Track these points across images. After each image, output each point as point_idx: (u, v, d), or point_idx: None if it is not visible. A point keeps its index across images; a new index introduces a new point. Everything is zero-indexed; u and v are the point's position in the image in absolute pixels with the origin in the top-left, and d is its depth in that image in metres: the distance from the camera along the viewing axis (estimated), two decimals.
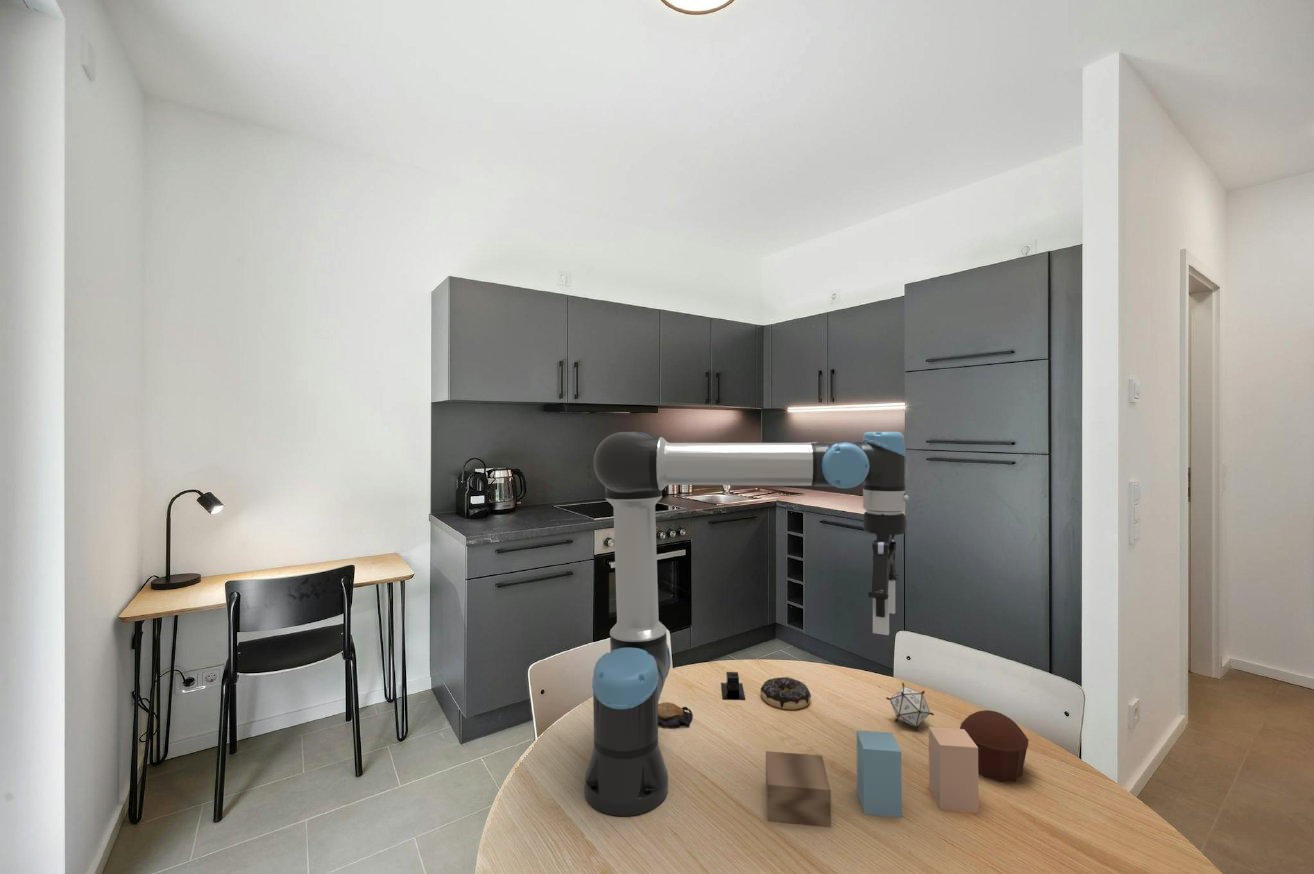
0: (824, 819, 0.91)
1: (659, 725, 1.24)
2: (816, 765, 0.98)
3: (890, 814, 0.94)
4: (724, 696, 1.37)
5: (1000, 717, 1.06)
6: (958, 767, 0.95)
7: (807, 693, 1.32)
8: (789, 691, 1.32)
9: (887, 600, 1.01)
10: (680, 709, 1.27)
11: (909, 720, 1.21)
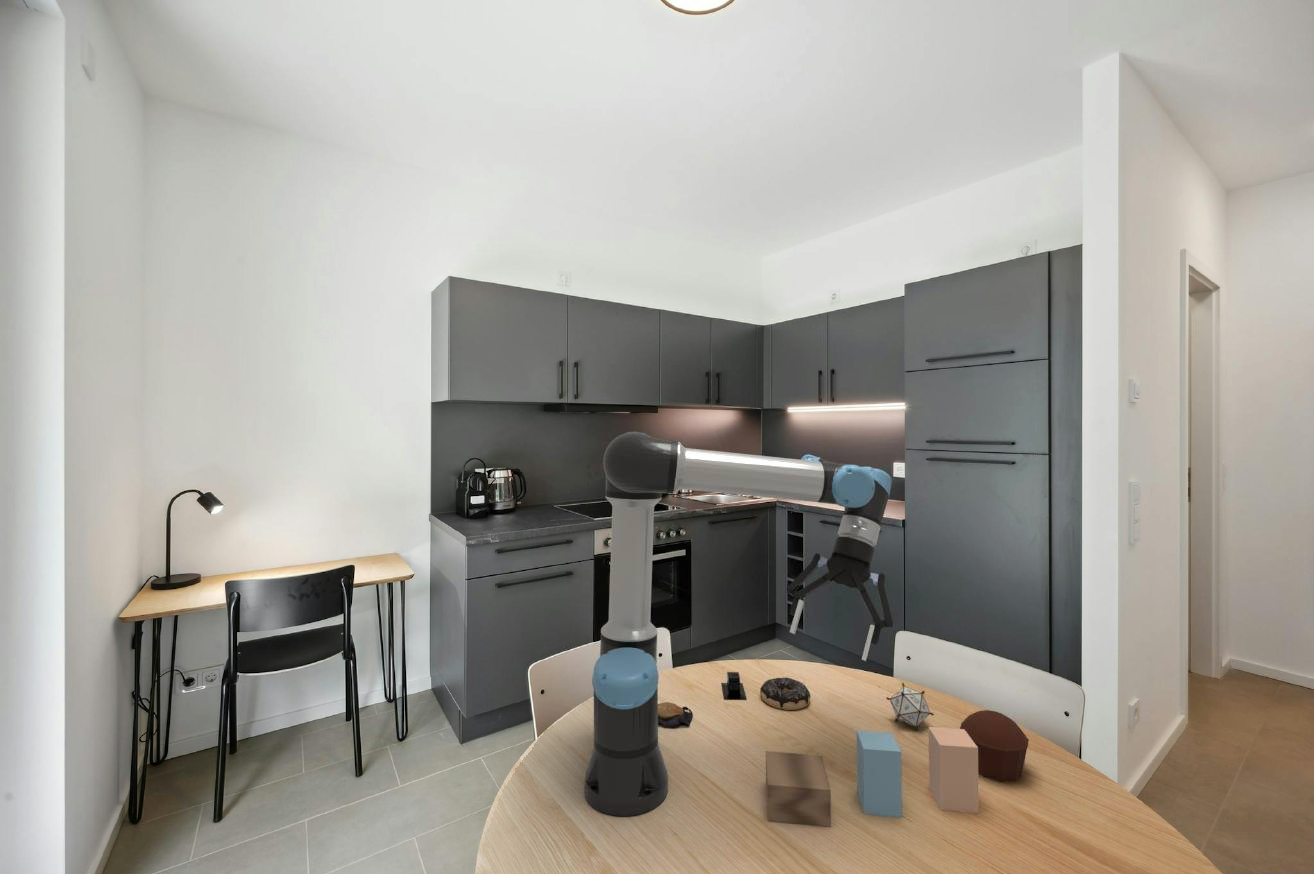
0: (824, 819, 0.91)
1: (659, 725, 1.24)
2: (816, 765, 0.98)
3: (890, 814, 0.94)
4: (725, 696, 1.37)
5: (1000, 717, 1.06)
6: (958, 767, 0.95)
7: (807, 693, 1.32)
8: (789, 691, 1.32)
9: (799, 600, 1.11)
10: (680, 709, 1.27)
11: (909, 720, 1.21)
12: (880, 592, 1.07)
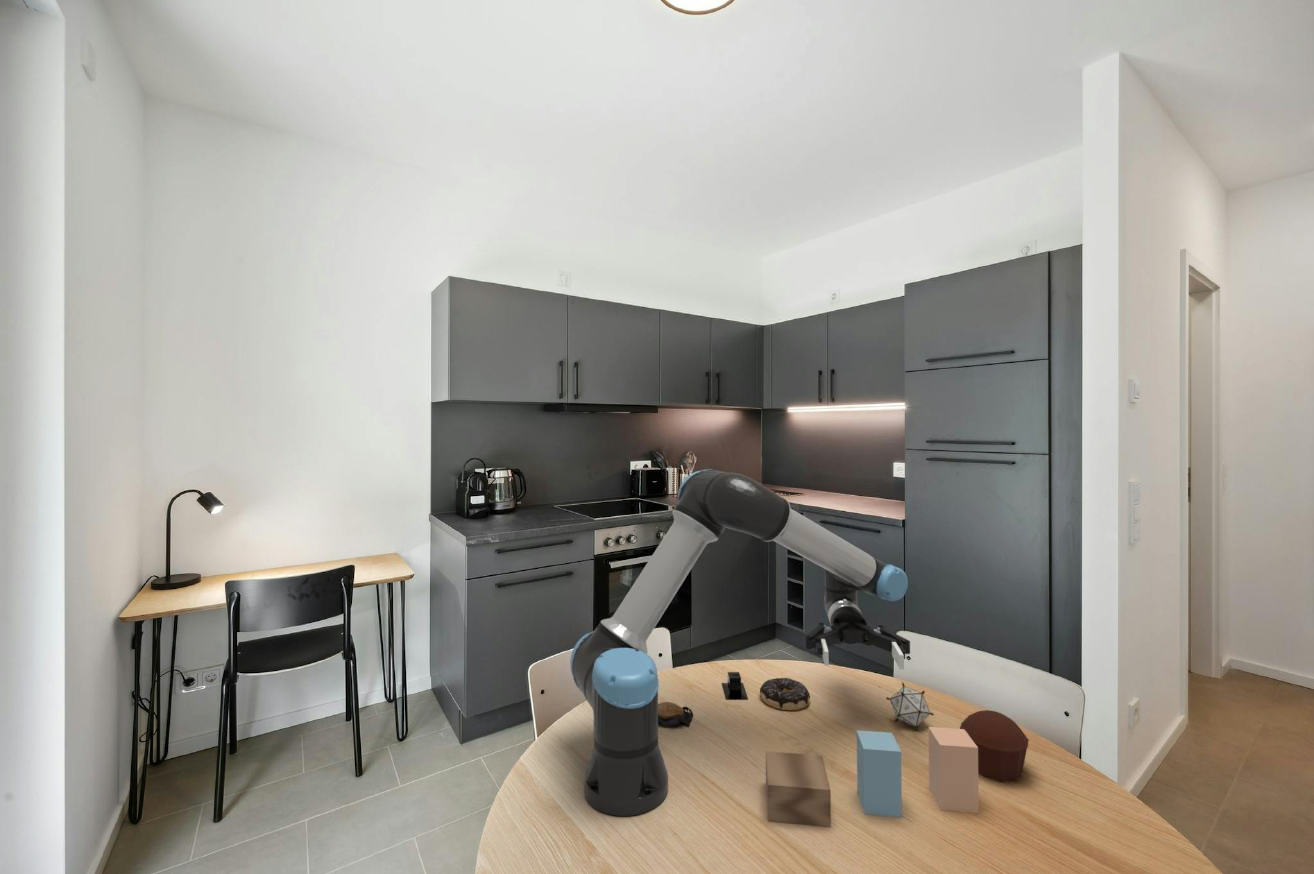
0: (824, 819, 0.91)
1: (659, 725, 1.24)
2: (816, 765, 0.98)
3: (890, 814, 0.94)
4: (727, 696, 1.37)
5: (1000, 717, 1.06)
6: (958, 767, 0.95)
7: (806, 694, 1.32)
8: (788, 692, 1.32)
9: (821, 640, 1.14)
10: (680, 709, 1.27)
11: (909, 720, 1.21)
12: (886, 631, 1.18)
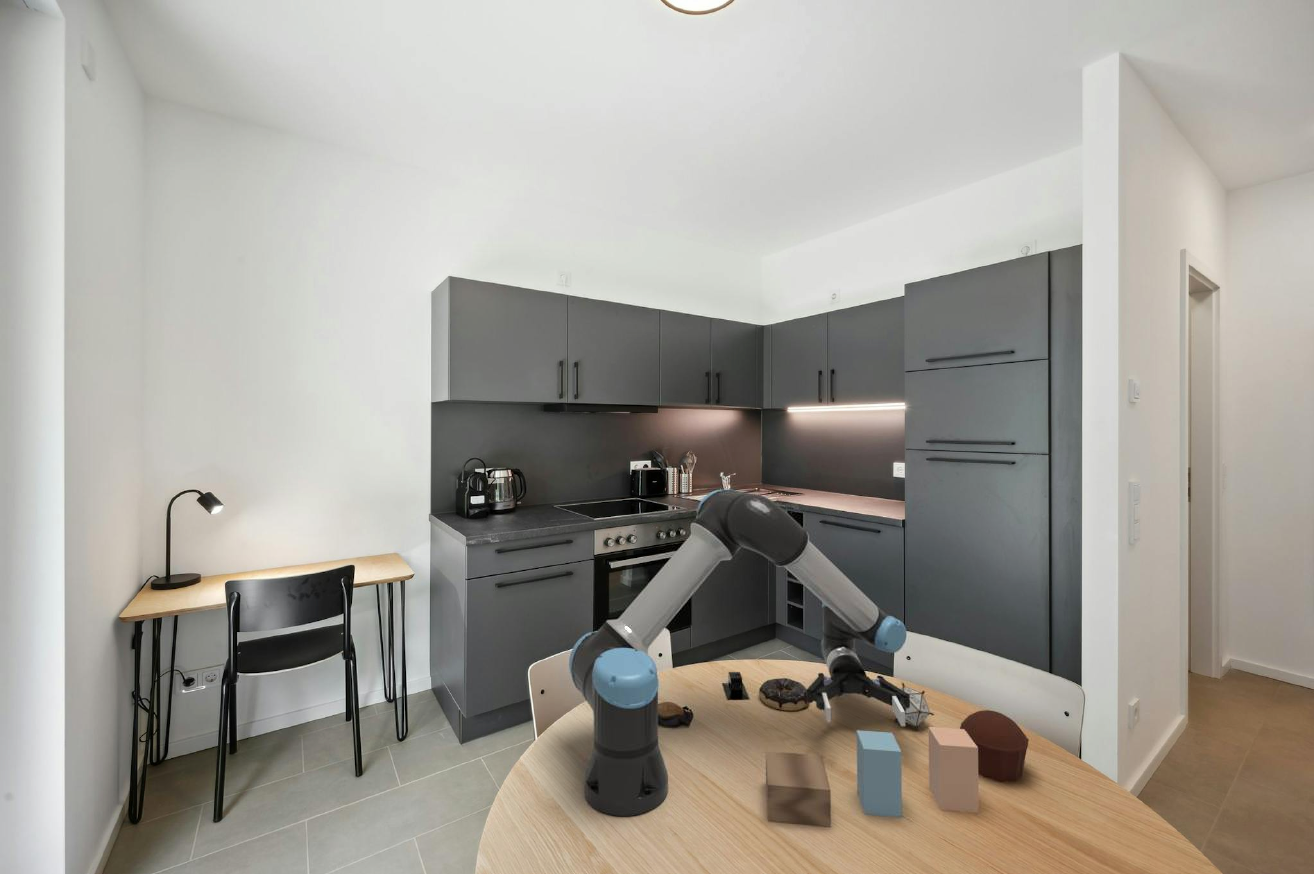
0: (824, 819, 0.91)
1: (659, 724, 1.24)
2: (816, 765, 0.98)
3: (890, 814, 0.94)
4: (728, 696, 1.37)
5: (1000, 717, 1.06)
6: (958, 767, 0.95)
7: (806, 694, 1.32)
8: (788, 692, 1.32)
9: (822, 694, 1.15)
10: (680, 709, 1.27)
11: (909, 720, 1.21)
12: (885, 683, 1.19)
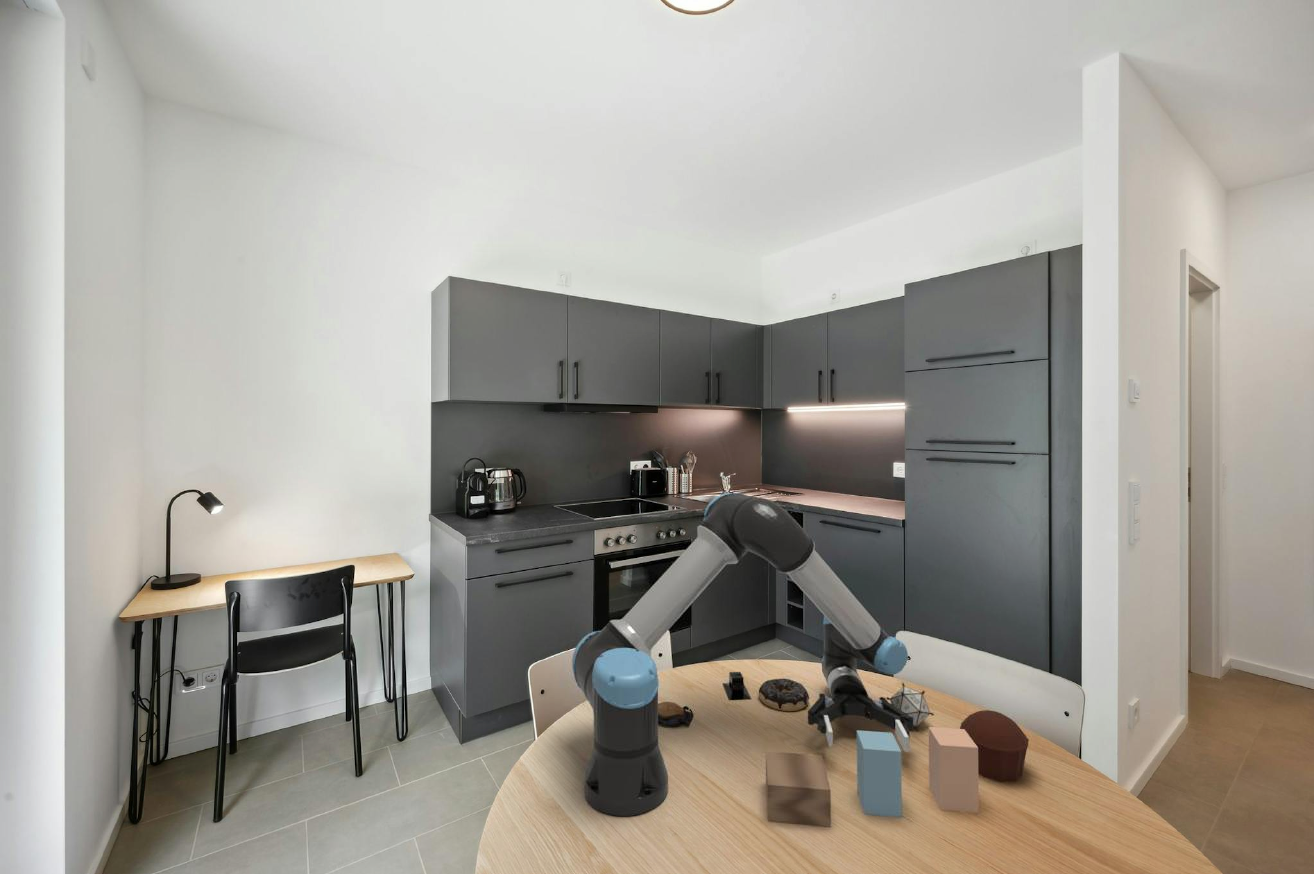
0: (824, 819, 0.91)
1: (659, 724, 1.24)
2: (816, 765, 0.98)
3: (890, 814, 0.94)
4: (730, 696, 1.37)
5: (1000, 717, 1.06)
6: (958, 767, 0.95)
7: (805, 694, 1.32)
8: (787, 692, 1.32)
9: (824, 716, 1.12)
10: (681, 708, 1.28)
11: None
12: (888, 705, 1.17)
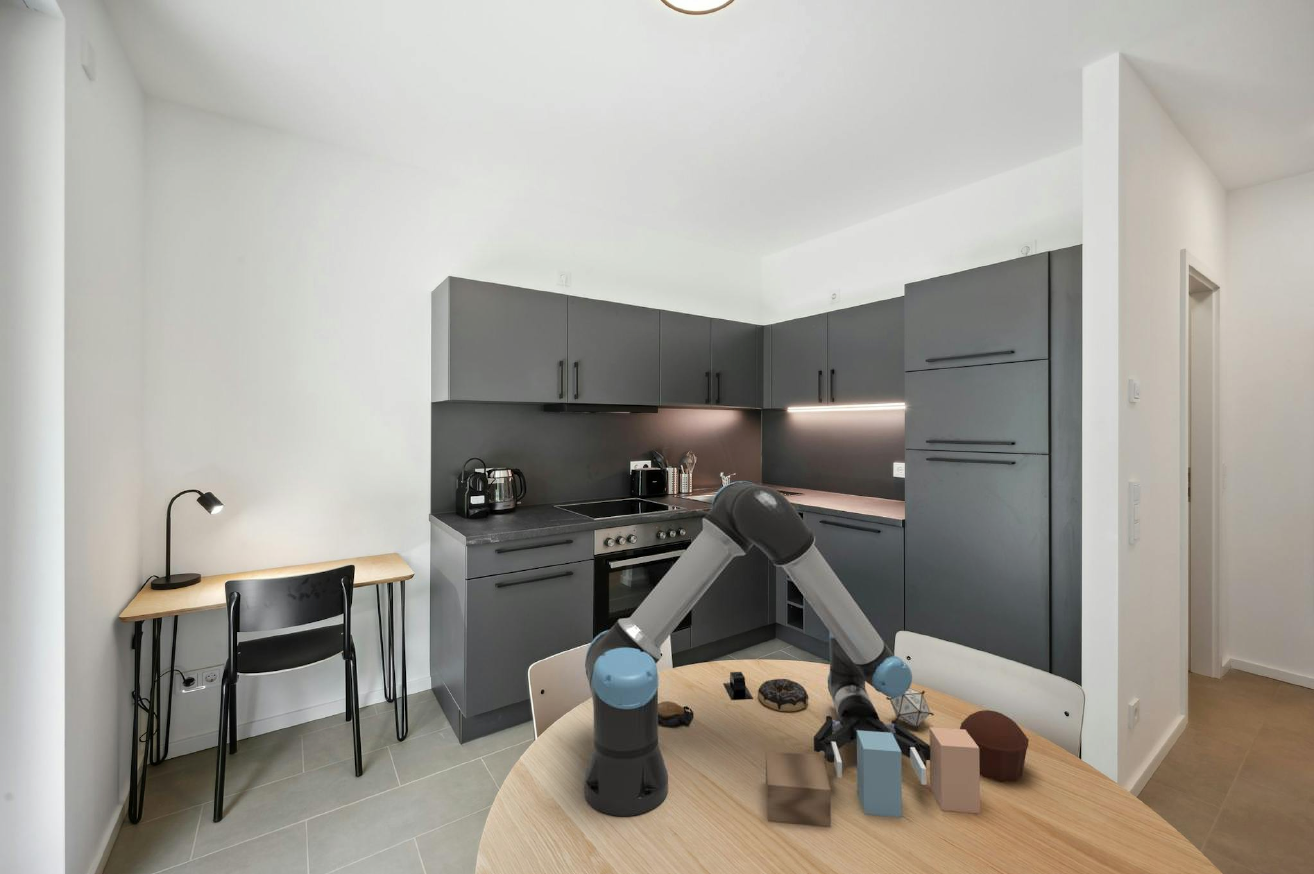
0: (824, 819, 0.91)
1: (659, 724, 1.24)
2: (816, 765, 0.98)
3: (890, 814, 0.94)
4: (732, 697, 1.37)
5: (1000, 717, 1.06)
6: (959, 768, 0.95)
7: (805, 695, 1.31)
8: (786, 693, 1.31)
9: (831, 743, 1.02)
10: (681, 708, 1.28)
11: (909, 720, 1.21)
12: (901, 729, 1.07)
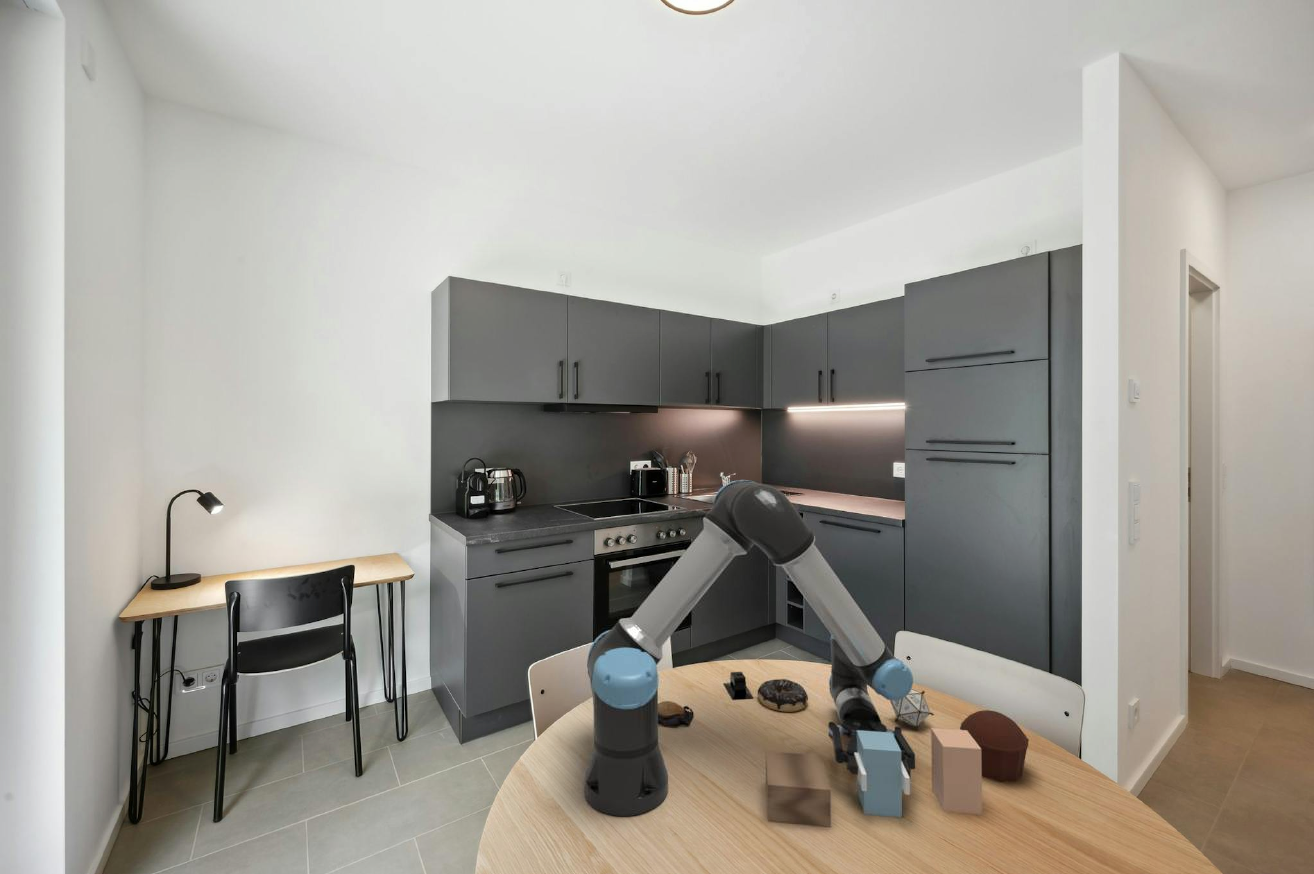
0: (824, 819, 0.91)
1: (659, 723, 1.24)
2: (816, 765, 0.98)
3: (890, 814, 0.94)
4: (733, 697, 1.37)
5: (1000, 717, 1.06)
6: (961, 769, 0.94)
7: (804, 695, 1.31)
8: (786, 693, 1.31)
9: (854, 754, 0.98)
10: (681, 708, 1.28)
11: (909, 720, 1.21)
12: (898, 736, 1.04)
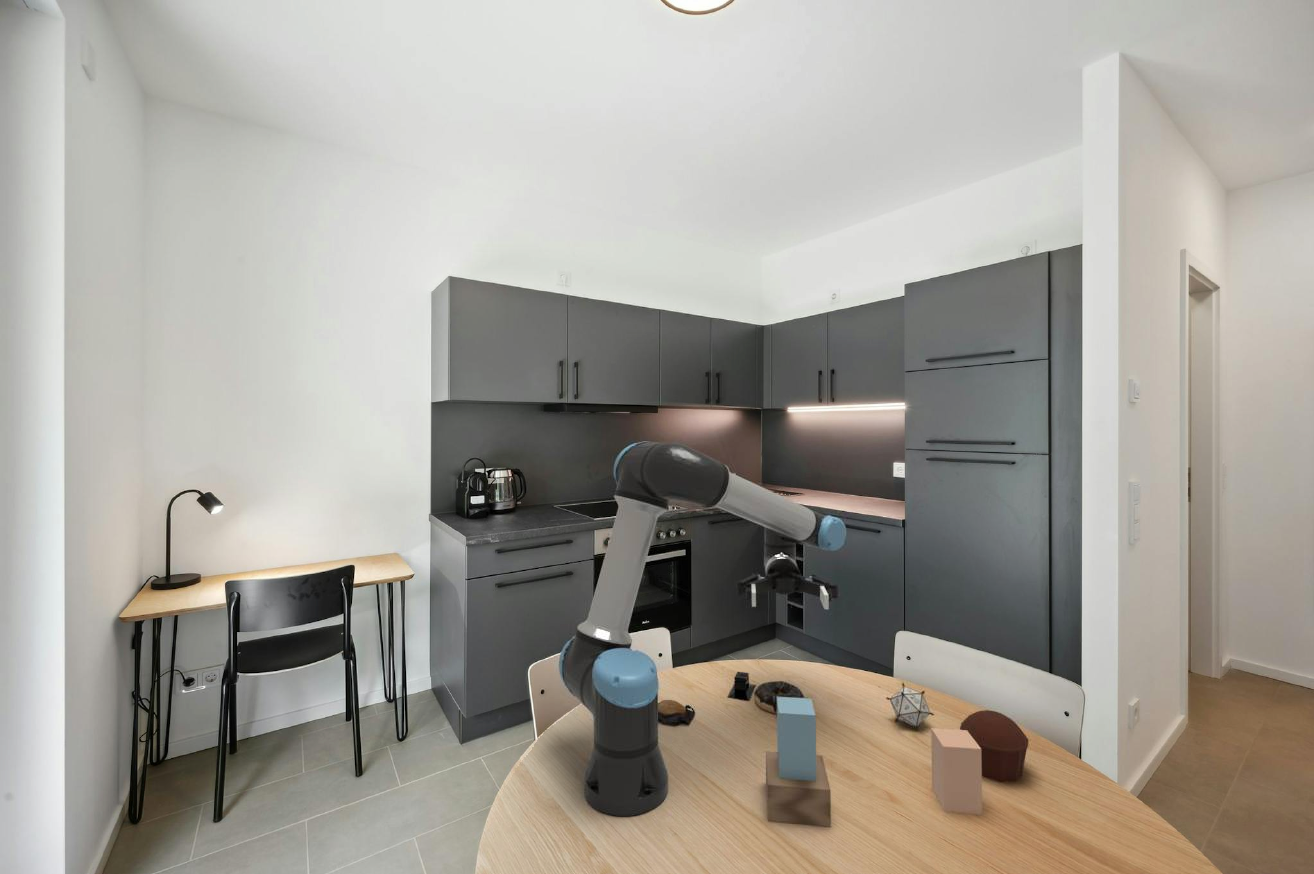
0: (824, 819, 0.91)
1: (660, 722, 1.25)
2: (816, 765, 0.98)
3: (805, 778, 0.94)
4: (730, 695, 1.38)
5: (1000, 717, 1.06)
6: (961, 769, 0.94)
7: None
8: (783, 695, 1.30)
9: (751, 585, 1.15)
10: (682, 707, 1.28)
11: (909, 720, 1.21)
12: (817, 579, 1.19)
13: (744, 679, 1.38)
